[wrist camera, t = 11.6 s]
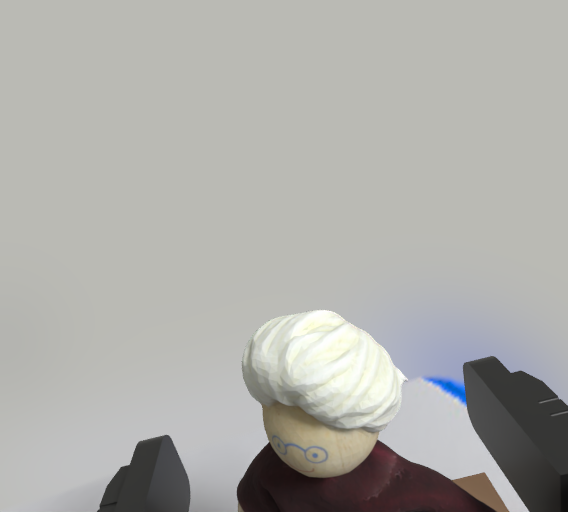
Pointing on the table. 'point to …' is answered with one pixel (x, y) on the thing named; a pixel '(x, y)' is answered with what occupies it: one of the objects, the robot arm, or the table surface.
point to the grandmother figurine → (332, 425)
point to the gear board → (482, 490)
